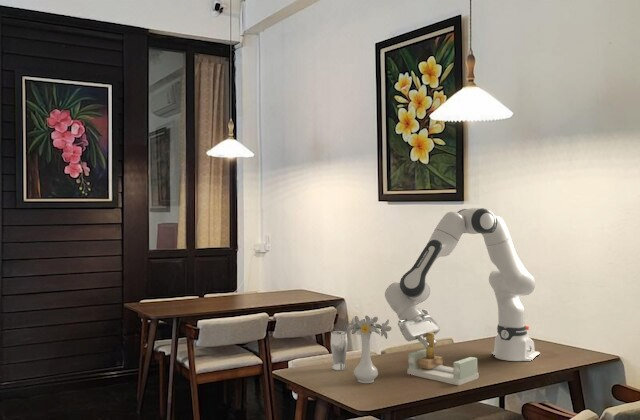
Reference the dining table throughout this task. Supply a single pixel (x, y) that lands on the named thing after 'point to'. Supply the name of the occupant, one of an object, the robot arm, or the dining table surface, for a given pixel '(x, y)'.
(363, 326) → the flower vase
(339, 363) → the beer glass
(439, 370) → the track
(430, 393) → the dining table surface
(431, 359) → the carriage
